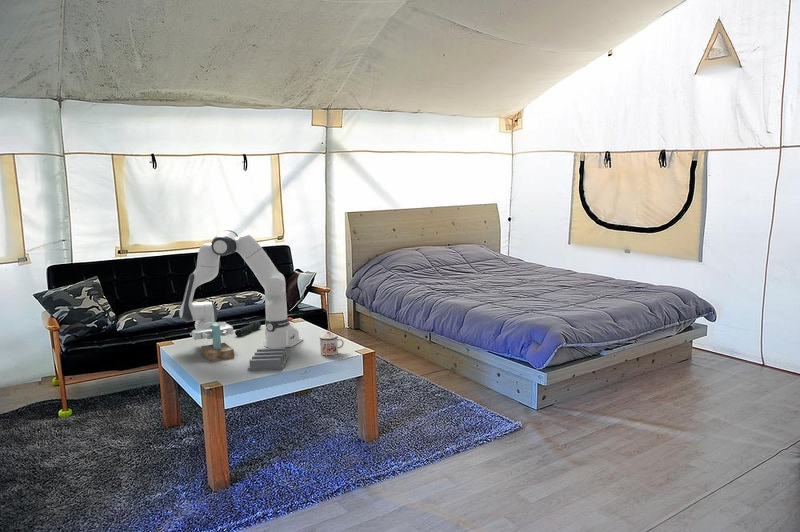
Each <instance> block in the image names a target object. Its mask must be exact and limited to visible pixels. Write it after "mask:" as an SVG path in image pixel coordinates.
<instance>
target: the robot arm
mask: <svg viewBox="0 0 800 532" xmlns="http://www.w3.org/2000/svg"><path fill="white" fill-rule="evenodd" d="M234 253H238V254H239V255H240V256H241V258H242V259H243V260H244V262H245V263H246V264H247V266H248V267H249V269H250V270H251V271H252V272H253V274H254V275H255V277H256V278H257V280H258V282H259V283H260V285H261V286H262V287H263V289H264V301H265V302H264V303H265V322H264V323H265V332H264V341H263V344H264V348H292V347H294V346H296V345H298V344H299V343H301V342H302V341H304V338H303V337H301V336H299V335H300V334H299V330H298V329H297V328H296V327H294V326H293V325H291V324H290V322H292V321H293V317H288V307H287V306H288V305H287V292H286V291H287V289H286V288H287V287H286V285H287V284H286V278H285V276H284V274H283V273H281V272H280V271H279V270H278V268H277V267H276V265H275V264H274V263H273V261H272V260H271V258H270V257H269V255H268V253H266V251H265V250H264V248H263V247H262V246H261V245H260V244H259V242H258V241H257V240H256V239H255V238H254V236H252V235H251V234H249V233H244V234H241V235H238V234H237V233H236V232H235V231H234V230H224V231H222V232H219V233H218V234H217V235H216V236H214V238H213V239H212V241H211V242H205V243H202V244H201V245H200V247H199V249H198V253H197V259H196V267H195V269H194V271H193V272H192V273H190V274H189V276H188V278H187V281H186V282H187V283H186V286H185V291H184V295H183V299H182V302H181V305H180V308H179V311H178V312H179V318H180V319H181V320H182V321H184V322H185V323H189V322H194V321H195V322H194V327H195V329H193V330H191V332H189V335H190V336H192V339H193V340H202V339H208V340H211V339H212V326H211V324H215V323H217V324H218V325H220V337H221V336H222V337H223V336H224V337H225V336H228V335H233V334H234V327H233V326H232V324H229V323H227V322H225V321H217V320H218V309H217V306H216V305H215V303H213V302H212V301H201V302H200V301H199V302H197V301H196V302H193V299H194V295H195V292H196V289H197V288H198V287H199V286H201V285H203V284H205V283H208V282H211V281H212V280H214V279H215V278H216V277H217V276H218V274H219V270H220V258H221V256H223V257H224V256H227V255H231V254H234Z"/></svg>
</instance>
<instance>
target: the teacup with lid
mask: <svg viewBox="0 0 800 532" xmlns="http://www.w3.org/2000/svg"><path fill="white" fill-rule="evenodd" d="M338 341H341V342H342V343H341V345H340V346H338V344H339V343H338ZM344 342H345V341H344V339H342V338H339V337H338V335H337V334H335V333H332V332H331V331H330V330H327V331H326V332H325V333H324V334H321V335H320V336H319V346H320V348H319V349H320V356H321V355H322V356H323V355H326V356H325V357H328V356H327V355H333V356H336V355H338V353H339V349H342V348H343V346H344ZM335 354H336V355H335Z"/></svg>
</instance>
